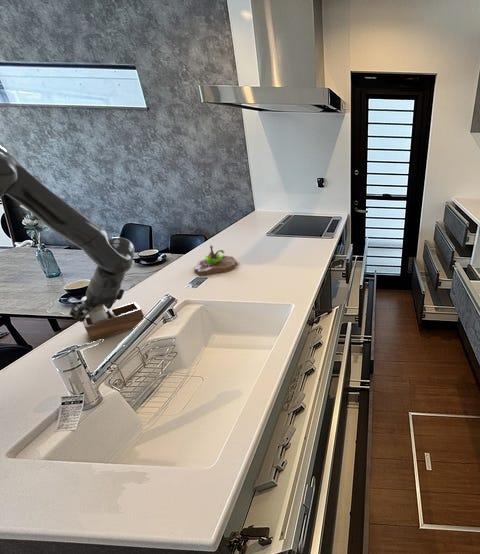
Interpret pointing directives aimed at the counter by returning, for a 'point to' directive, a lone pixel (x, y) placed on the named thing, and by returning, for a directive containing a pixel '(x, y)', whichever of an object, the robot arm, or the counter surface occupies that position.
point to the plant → (215, 263)
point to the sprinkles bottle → (96, 313)
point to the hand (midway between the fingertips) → (93, 313)
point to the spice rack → (114, 321)
